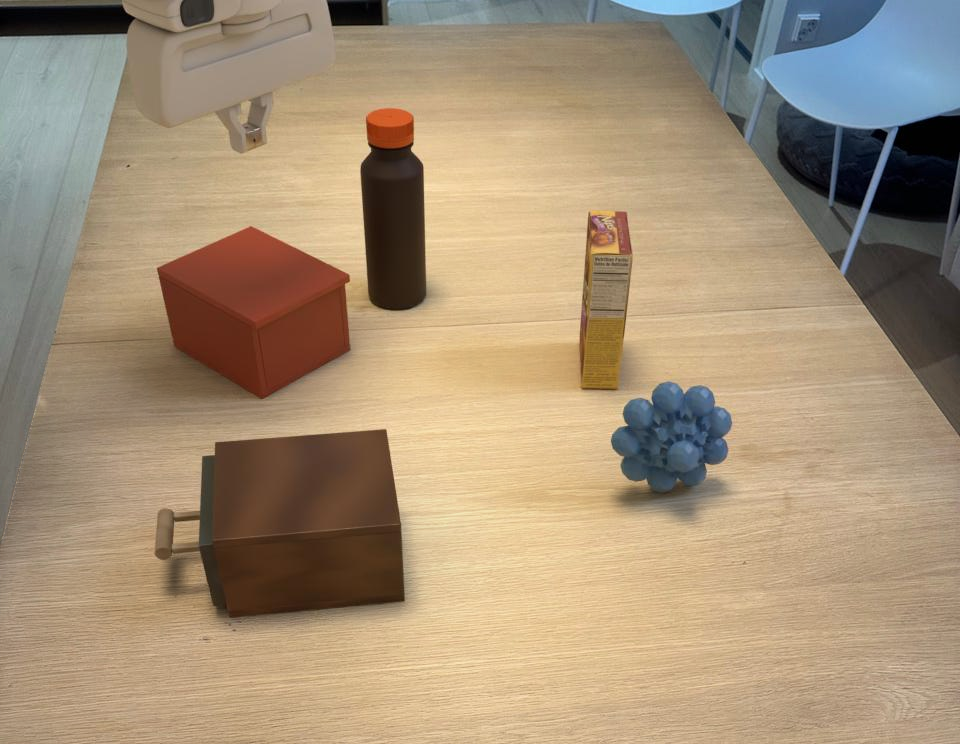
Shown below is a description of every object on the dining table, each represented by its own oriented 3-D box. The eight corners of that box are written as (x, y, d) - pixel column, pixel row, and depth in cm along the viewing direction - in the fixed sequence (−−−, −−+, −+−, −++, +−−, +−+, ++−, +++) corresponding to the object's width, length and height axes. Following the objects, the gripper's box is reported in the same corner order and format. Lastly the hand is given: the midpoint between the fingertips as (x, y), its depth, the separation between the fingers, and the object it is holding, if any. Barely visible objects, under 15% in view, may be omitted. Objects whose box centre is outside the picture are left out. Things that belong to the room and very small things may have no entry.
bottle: (372, 313, 120) (361, 132, 106) (364, 283, 125) (352, 106, 110) (431, 307, 121) (428, 128, 107) (421, 278, 126) (416, 102, 111)
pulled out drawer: (161, 611, 87) (143, 550, 82) (167, 520, 94) (151, 459, 89) (376, 591, 89) (371, 530, 84) (365, 504, 96) (360, 443, 91)
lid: (350, 281, 109) (349, 274, 108) (256, 329, 102) (255, 322, 102) (252, 232, 115) (251, 225, 115) (157, 275, 109) (156, 267, 108)
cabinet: (229, 617, 88) (212, 540, 81) (230, 518, 96) (214, 441, 90) (405, 601, 89) (401, 524, 83) (390, 505, 98) (386, 428, 91)
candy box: (575, 343, 117) (588, 208, 106) (614, 344, 117) (631, 209, 106) (577, 389, 111) (590, 251, 100) (618, 391, 111) (636, 253, 100)
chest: (350, 349, 115) (344, 279, 109) (262, 399, 109) (250, 327, 103) (262, 302, 122) (252, 233, 116) (173, 346, 115) (158, 275, 109)
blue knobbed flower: (618, 528, 96) (635, 419, 87) (595, 482, 100) (609, 373, 92) (737, 510, 98) (765, 401, 89) (710, 466, 102) (734, 358, 94)
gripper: (295, -56, 94) (309, 106, 104) (102, -6, 83) (138, 170, 94) (345, -40, 92) (354, 125, 102) (151, 14, 81) (183, 193, 91)
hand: (249, 147), depth 98 cm, fingers closed
